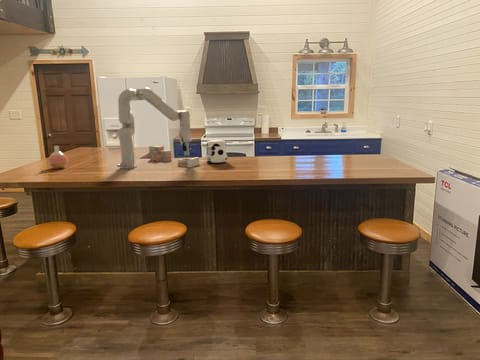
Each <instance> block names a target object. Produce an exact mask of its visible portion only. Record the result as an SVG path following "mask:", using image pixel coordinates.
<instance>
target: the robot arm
mask: <svg viewBox="0 0 480 360" xmlns="http://www.w3.org/2000/svg"><path fill="white" fill-rule="evenodd" d="M117 100H118V101H117V102H118V105H117V106H118V122H119V123H120V124H121V126H122V127H120V128H119V130H118V132H117V134H118V140H119V148H120V159H121V162H120V163H118V164H117V165H116V166H117V168H120V169H124V170H125V169H128V170H129V169H135V168H137V167H138V165H137V164H135V155H134V154H135V153H134V152H135V151H134V144H133V137H134V135H135V131H136V129H135V128H136V127H135V117H134V115H133V113H132V112H131V101H132V102H133V101H134V102H135V101H146V102H147V103H149V104H150V105H151V106H152V107H153V108H155V109H156V110H157V111H159V112H160V113H161V114H162V115H163V116H165V117H166V118H167V119H169V120H170V121H172V122H175V121H179V137H178V138H179V142H180V143H179V144H180V145H181V146H182V152H184V151H187V148H186V142H187V141H189V151H191V142H192V130H191V121H190V120H191V119H190V111H189V110H174V109H173V108H172V107H171V106H170V105H168V103H166V102H165V100H164V99H163V98H162V97H161V96H159V95H158V94H157V93H155V92H154V91H153V90H152V88H149V87H144V88H135V89H133V88H126V89H124V90H122V92H121V93H120V94H119V95H118V99H117Z"/></svg>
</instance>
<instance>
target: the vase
mask: <svg viewBox="0 0 480 360" xmlns="http://www.w3.org/2000/svg"><path fill="white" fill-rule="evenodd" d="M53 148H54V149H53V150H54V151H53V152H52V153H51V154H50V156H48V160H47V161H48V165H49V166H50V167H51V168H53V169H54V170H60V169H59V168H62V169H64V168H65V167H67V165H68V163H69V159H68V157H67V155H66V154H65V153H63V152H61V151H60V146H59V145H53Z"/></svg>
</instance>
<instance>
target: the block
mask: <svg viewBox="0 0 480 360" xmlns="http://www.w3.org/2000/svg"><path fill="white" fill-rule="evenodd" d="M188 159H192V158H189V157H184V158H180V159H177V166H179V167H187V168H189V167H188V161H187V160H188Z"/></svg>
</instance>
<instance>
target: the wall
mask: <svg viewBox="0 0 480 360" xmlns="http://www.w3.org/2000/svg"><path fill="white" fill-rule="evenodd" d="M187 161H188V167H187V168H192V167H196V166H199V165H200V157H198V156H196V157H193V158H192V159H188V160H187Z"/></svg>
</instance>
